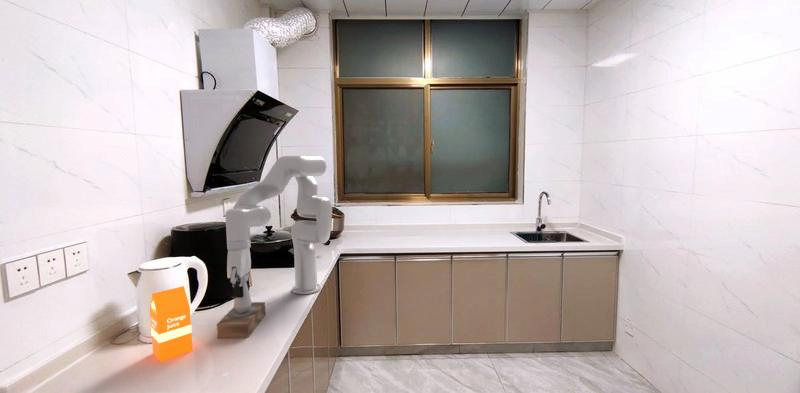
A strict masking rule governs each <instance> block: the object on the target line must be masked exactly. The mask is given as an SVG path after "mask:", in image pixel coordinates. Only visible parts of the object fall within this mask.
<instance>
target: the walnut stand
mask: <svg viewBox="0 0 800 393" xmlns="http://www.w3.org/2000/svg"><path fill="white" fill-rule="evenodd" d="M251 302H252V301H251ZM266 314H267V313H266V301H263V302H262V301H261V302H260V301H258V302H257V301H254V302H252V304H251V307H250V309H249V311H247V312H244V313H237V311H236V309H235V307H234V306H233V307H232V308H231V309H230V310H229V311H228V313H226V314H225V315H224V316H223V317H222V318H221V319H220V320H219V321H218V322H217V323H216V333H217V334H216V335H217V336H216V337H217V339H220V340H221V339H248V338H249V337H250V336H251V335H252V334H253V332H254V331H255V329H256V328H257V327H258V326H259V324H260V323H261V322H262V320H264V318H265V316H266Z"/></svg>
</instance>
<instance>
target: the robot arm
mask: <svg viewBox="0 0 800 393" xmlns="http://www.w3.org/2000/svg"><path fill="white" fill-rule="evenodd" d="M326 171H327V162H326V160H325V159H324V158H323V157H322V156H319V155H318V156H317V155H315V156H312V155H311V156H307V155H283V156H280V157H279V158H277V159H276V160H275V162H274V164H273V165H272V166H271V168H270V170H269V172H268V173H267V174H266V175H265V177H264V179H262V181H260V182H258V183H257V184H255V185H253V186H252V187H251V188H249V189H247V190H246V191H245V192H244V193H242V194H241V195H240V197H239V198H238V200H236V202H235V204H234V205H233V207H232V208H229V209H228V210H226V211H225V216H224V217H225V227H226V228H225V231H226V234H225V235H226V248H227V258H226V259H227V260H226V273H227V274H226V275H227V279H230V281H229V282H230V283H231V284H232V289H233V290H232V291H233V293H232V294H233V298H234V299H235V298H242V297H243V296H244V294H243V286H242V277H244V276H245V275H247V276H248V281H247V282H246V283H247V287H248V290H249V291H250V271H251V269H252V258H251V251H250V248H251V247H252V246H251V243H252V242H251V228H257V227H262V226H265V225H267V224H268V223H269V221H270V220H271V217H272V215H271V211H270V209H269V208H267V207H266V206H264V205H263V206H262V205H259V203H261V202H264V201H266V200H269V199H272V198H275V197H278V196H280V195H281V194H282V193H283V192H284V190H285V189H286V187H287V185H288V184H289V182H290V180H291V179H292V178H294V179H295V180H296V182H297V196H296V197H297V198H296V199H297V200H296V213H297V215H298V216H300V217H302V218H310V219H316V221H315V220H304V219H303V220H297V221H295V222H294V223H293V224H292V225H291V228H290V236H291V239H292V244H293V252H294V256H293V258H294V260H293V261H294V279H295V280H294V282H295V284H294V285H293V286H292V288H291V292H292V293H293V294H295V295H296V294H297V295H312V294H315V293H317V292H319V291H320V290H321V284H319V283H318V275H317V274H318V271H317V270H318V268H317V250H316V247H315V245H314V244H323V245H324V244H326V243H327V242H328V241H329V239H330V236H331V231H332V229H331V228H332V217H333V205H332V202H331V200H330V199H329V198H328V197H326V196H325V197H324V196H318V191H319V190H318V189H319V188H318V183H317V181H316V179H315V177H320V176H323V175H324V174H325V173H326ZM236 276H239V277H236ZM236 279H239V281H237V280H236Z"/></svg>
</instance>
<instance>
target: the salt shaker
mask: <svg viewBox="0 0 800 393" xmlns="http://www.w3.org/2000/svg"><path fill="white" fill-rule="evenodd" d="M236 277H239V276H236ZM236 280H237V281H239V279H236ZM247 281H249V280H248V276H247V275H245V276H244V277H242V286H243V294H244V296H243V297H242V298H234V300H233V301H234V302H233V307H235V309H236V311H237V313H244V312H247V311H249V309H250V307H251V304H252V299H251V295H250V289H249V290H248V287H247V283H246V282H247Z"/></svg>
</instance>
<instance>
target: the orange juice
mask: <svg viewBox="0 0 800 393" xmlns="http://www.w3.org/2000/svg"><path fill="white" fill-rule="evenodd" d="M149 318H150V320H149V321H150V333H151V334H150V335H151V343H152V353H153V356H155V358H156V359H157V360H158V361H159V362H160V363H163V362H166V361H169V360H172V359H175V358H177V357H180V356H182V355H185V354H188V353H191V352H193V351H194V350H193V349H194V348H193V337H192V336H193V335H192V330H193V329H192V321H191V320H192V319H191V306H190V303H189V299H188V296H187V293H186V290H185V286H184V285H183V286H182V285H181V286H179V287H175V288H171V289H170V288H169V289H166V290H163V291H158V292H154V293H151V299H150V305H149Z"/></svg>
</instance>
